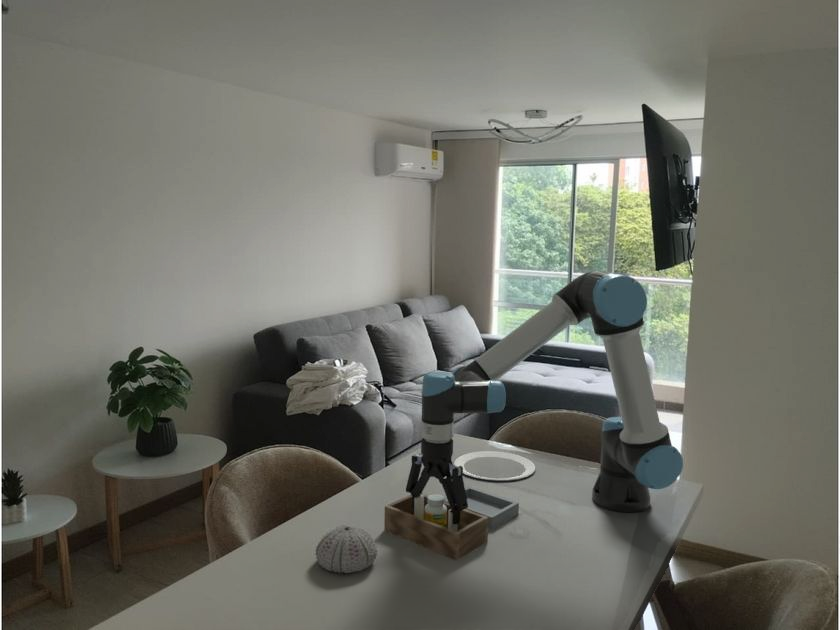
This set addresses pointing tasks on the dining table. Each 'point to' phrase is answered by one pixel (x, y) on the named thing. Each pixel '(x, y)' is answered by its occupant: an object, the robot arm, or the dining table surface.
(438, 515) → the supplement bottle
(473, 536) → the walnut box
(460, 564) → the dining table surface
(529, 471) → the white flat ring
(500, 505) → the slate tray
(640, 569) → the dining table surface
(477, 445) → the dining table surface
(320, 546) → the sea urchin shell
